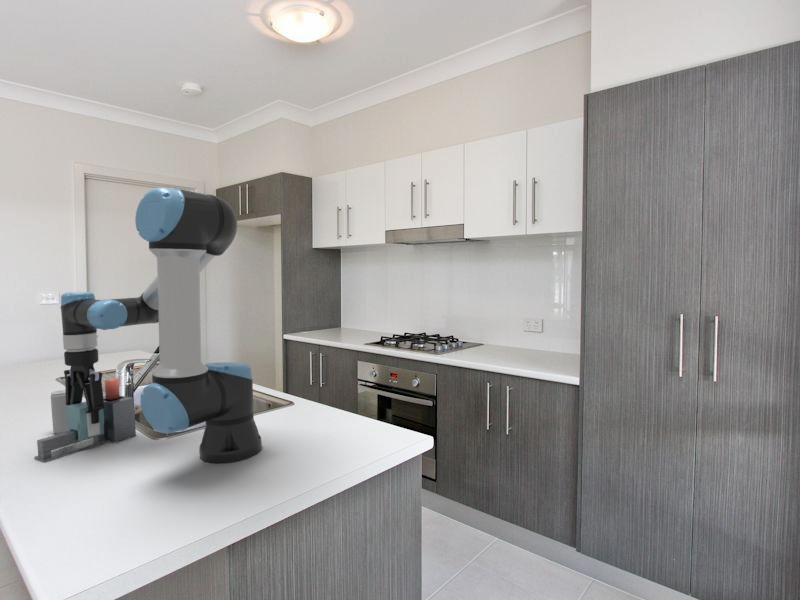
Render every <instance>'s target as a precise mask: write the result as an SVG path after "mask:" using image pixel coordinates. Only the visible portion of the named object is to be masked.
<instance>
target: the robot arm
mask: <svg viewBox="0 0 800 600" xmlns="http://www.w3.org/2000/svg"><path fill="white" fill-rule="evenodd" d="M134 217H135V218H134V219H135V229H136V230H137V231H138V235H139V236H140V238H142V239H143V240H145V241H146V242H148V250H149V251H150V252H151V253H152V254H153V255H154V256H155V258H156V269H157V270H156V272H157V276H156V277H155V278H154V279H153V281H152V282H151V283H150V284H149V286H147V287H146V289H145V290H144V292H142V293H141V294H140V295H139V297H127V298H126V297H125V298H110V299H96V296H95V294H94V292H92V291H77V292H74V291H73V292H71V291H70V292H64V293H62V294H61V296H60V314H61V324H62V327H61V328H62V345H63V350H64V353H63V355H64V356H63V357H64V365H66V366H68V367H70V369H65V370H63V375H64V378H65V379H64V380H65V382H64V384H65V385H64V386H65V388H64V390H65V391H66V405H67V406H68V405H73V404H77V403H82V402H83V395H84V398H85V402H86V403H87V407H88V411H86V413H87V429H88V437H91V436H94V435H97V434H100V424H99V410H101V409H104V399H103V397H104V391H103V383H102V382H103V381H102V379H103V373H102V372H101V371H99V372H97V371H96V369H95V366H94V364H97V363H98V362H99V349H98V348H97V346H98V337H99V336H98V335H97V333H98V332H97V331H98V330H103V331H106V330H116V329H118V328H121V327H129V326H131V327H132V326H136V325H137V326H138V325H147V324H158V345H159V346H158V347H159V351H158V352H159V354H158V355H159V356H158V358H159V365H158V366H157V367H156V368H155V369H153V371H152V374H151V377H152V378H151V381H152V382H151V383H149V384H148V385H146V386H144V388H143V390H142V391H141V393H140V399H139V400H140V401H139V402H140V408H141V412H142V414H143V416H144V418H145V420H146V421H147V423H148V424H149V425H150V426H151V428H153V429H154V430H155V431H157V432H159V433H161V434H173V433H176V432H179V431H181V432H182V431H185V430H187V429H188V428H191V427H193V426H194V427H195V426H197V425H199V424H203V423H204V422H205V426H204V427H205V428H204V430H203V433H202V439H201V443H200V445H199V447H198V449H199V451H198V452H199V458H200V459H201V460H202V461H204V462H208V463H212V464H213V463H216V464H217V463H219V464H224V463H231V462H232V463H233V462H238V461H242V460H245V459H248V458H251V457H252V456H255V455H257V454H258V453H260V451H261V450H262V448H263V447H262V446H263V445H262V443H263V442H262V437H261V435H260V434H259V430H258V429H259V428H258V427H257V425H256V421H255V417H254V388H253V386H254V385H253V383H254V382H253V381H254V378H253V375H252V368H251V366H250V365H249V364H246V363H242V362H227V361H225V362H221V361H220V362H219V361H218V362H207V363H205V364H204V363H203V362H202V351H201V350H202V346H201V345H202V341H201V339H202V337H201V335H202V334H201V332H202V331H201V285H200V281H201V280H200V279H201V278H200V275H201V274H200V273H202V271H203V270H204V269H205V268H206V267H207V265H209V263H210V262H211V261H212V260H213V259H214V258H215V257H219V256H222V255H224V253H225V252H226V251H227V250H228V249H229V247H230V246H231V245H232V243H233V241H234V240H235V238H236V235H237V231H238V219H237V216H236V213H235V211H234V209H233V208H232V206H231V205H230V204H229V203H228V202H227V201H226V200H225V199H223V198H221V197H219V196H217V195H213V194H205V193H201V192H195V191H190V190H185V189H179V188H173V187H172V188H170V187H155V188H152V189H150V190H148V191H147V192H146V193H145V194H144V195H143V197H142V198H141V199H140V201H139V203H138V205H137V208H136V211H135V216H134ZM97 329H98V330H97Z"/></svg>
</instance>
